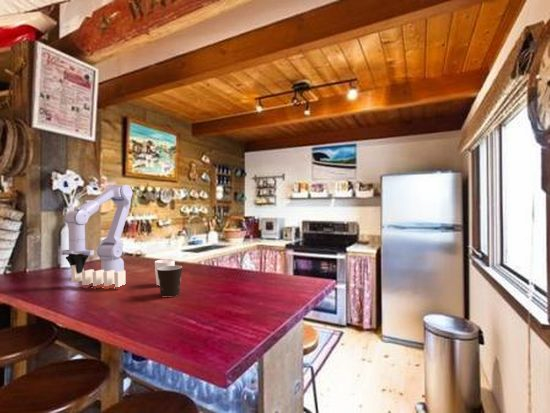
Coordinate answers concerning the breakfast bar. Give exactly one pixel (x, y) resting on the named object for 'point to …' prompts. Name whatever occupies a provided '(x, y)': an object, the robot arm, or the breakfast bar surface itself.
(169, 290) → the coffee mug
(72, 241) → the robot arm
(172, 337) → the breakfast bar surface
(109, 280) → the domino
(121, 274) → the domino
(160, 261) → the white cup
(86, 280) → the domino
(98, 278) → the domino
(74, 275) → the domino
